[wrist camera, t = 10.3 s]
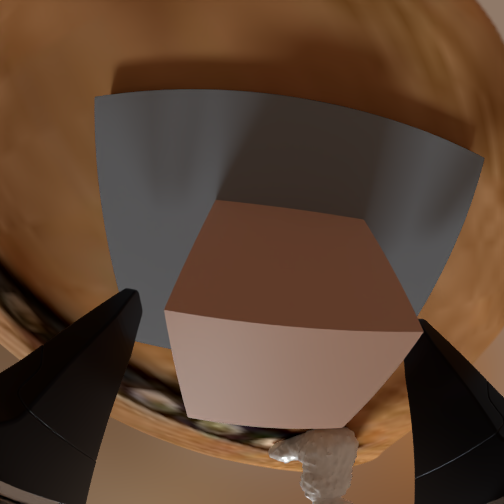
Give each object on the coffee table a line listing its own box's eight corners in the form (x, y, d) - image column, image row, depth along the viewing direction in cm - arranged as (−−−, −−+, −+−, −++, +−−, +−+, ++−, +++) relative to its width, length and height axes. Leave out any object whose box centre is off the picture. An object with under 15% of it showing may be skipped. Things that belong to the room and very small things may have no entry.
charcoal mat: (379, 353, 14) (383, 366, 13) (139, 327, 14) (133, 340, 13) (469, 151, 8) (484, 158, 7) (109, 95, 8) (94, 96, 7)
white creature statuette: (267, 445, 25) (261, 538, 14) (287, 419, 20) (282, 545, 10) (345, 445, 25) (349, 530, 15) (382, 418, 20) (394, 526, 10)
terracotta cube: (327, 322, 11) (342, 427, 7) (213, 310, 11) (188, 417, 7) (363, 219, 9) (423, 331, 4) (215, 200, 9) (164, 310, 5)
